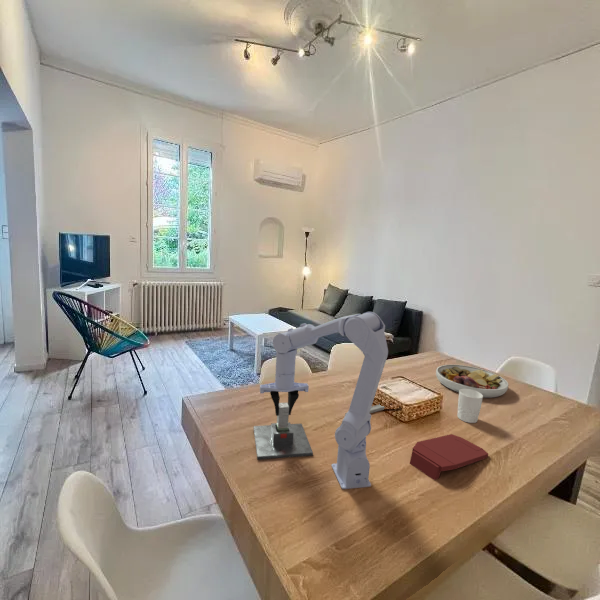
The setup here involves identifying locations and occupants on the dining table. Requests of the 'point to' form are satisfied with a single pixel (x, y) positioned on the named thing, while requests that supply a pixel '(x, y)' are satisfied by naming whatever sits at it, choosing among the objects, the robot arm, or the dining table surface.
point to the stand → (281, 442)
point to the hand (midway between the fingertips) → (282, 413)
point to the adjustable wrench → (375, 408)
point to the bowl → (472, 380)
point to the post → (283, 417)
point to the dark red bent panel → (444, 454)
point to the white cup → (469, 405)
